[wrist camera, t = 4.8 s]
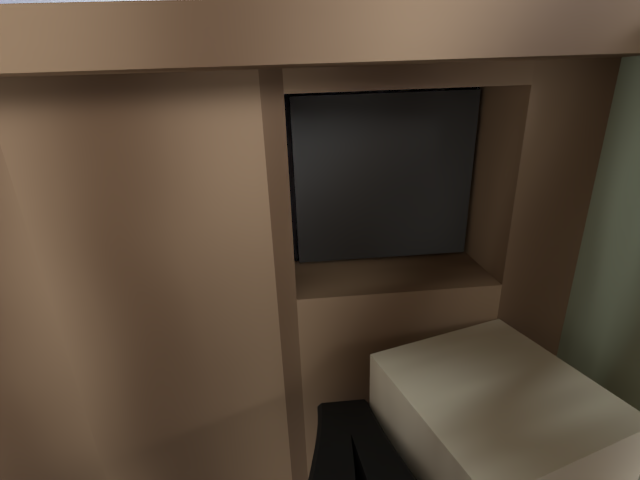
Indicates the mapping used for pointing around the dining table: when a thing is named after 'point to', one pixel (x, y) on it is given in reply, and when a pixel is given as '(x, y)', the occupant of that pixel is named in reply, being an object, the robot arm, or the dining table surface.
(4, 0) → the dining table surface
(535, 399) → the birch block
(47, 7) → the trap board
